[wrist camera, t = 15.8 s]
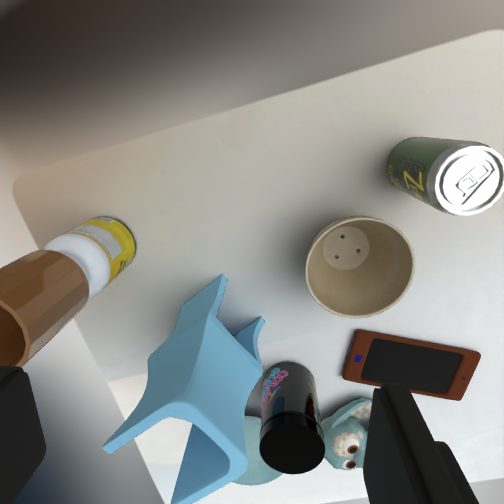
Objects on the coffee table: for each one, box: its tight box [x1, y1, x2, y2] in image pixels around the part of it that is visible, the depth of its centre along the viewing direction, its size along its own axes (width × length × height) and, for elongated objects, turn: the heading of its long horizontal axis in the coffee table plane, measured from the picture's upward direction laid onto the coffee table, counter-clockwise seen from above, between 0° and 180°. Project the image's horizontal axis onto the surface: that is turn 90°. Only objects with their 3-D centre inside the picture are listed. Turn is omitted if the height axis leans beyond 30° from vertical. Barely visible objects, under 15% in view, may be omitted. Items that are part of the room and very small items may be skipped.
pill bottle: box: [43, 216, 137, 298], centre depth 37 cm, size 6×6×12 cm
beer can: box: [387, 137, 504, 215], centre depth 32 cm, size 5×5×12 cm
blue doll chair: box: [102, 274, 265, 504], centre depth 35 cm, size 8×8×20 cm
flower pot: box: [305, 216, 415, 318], centre depth 37 cm, size 10×10×7 cm
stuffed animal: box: [321, 398, 372, 470], centre depth 45 cm, size 11×7×12 cm
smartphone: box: [342, 330, 481, 401], centre depth 44 cm, size 7×1×15 cm
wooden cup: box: [0, 250, 89, 368], centre depth 27 cm, size 6×6×8 cm
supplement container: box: [259, 362, 325, 474], centre depth 42 cm, size 7×7×10 cm
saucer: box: [231, 416, 283, 485], centre depth 49 cm, size 12×12×2 cm
